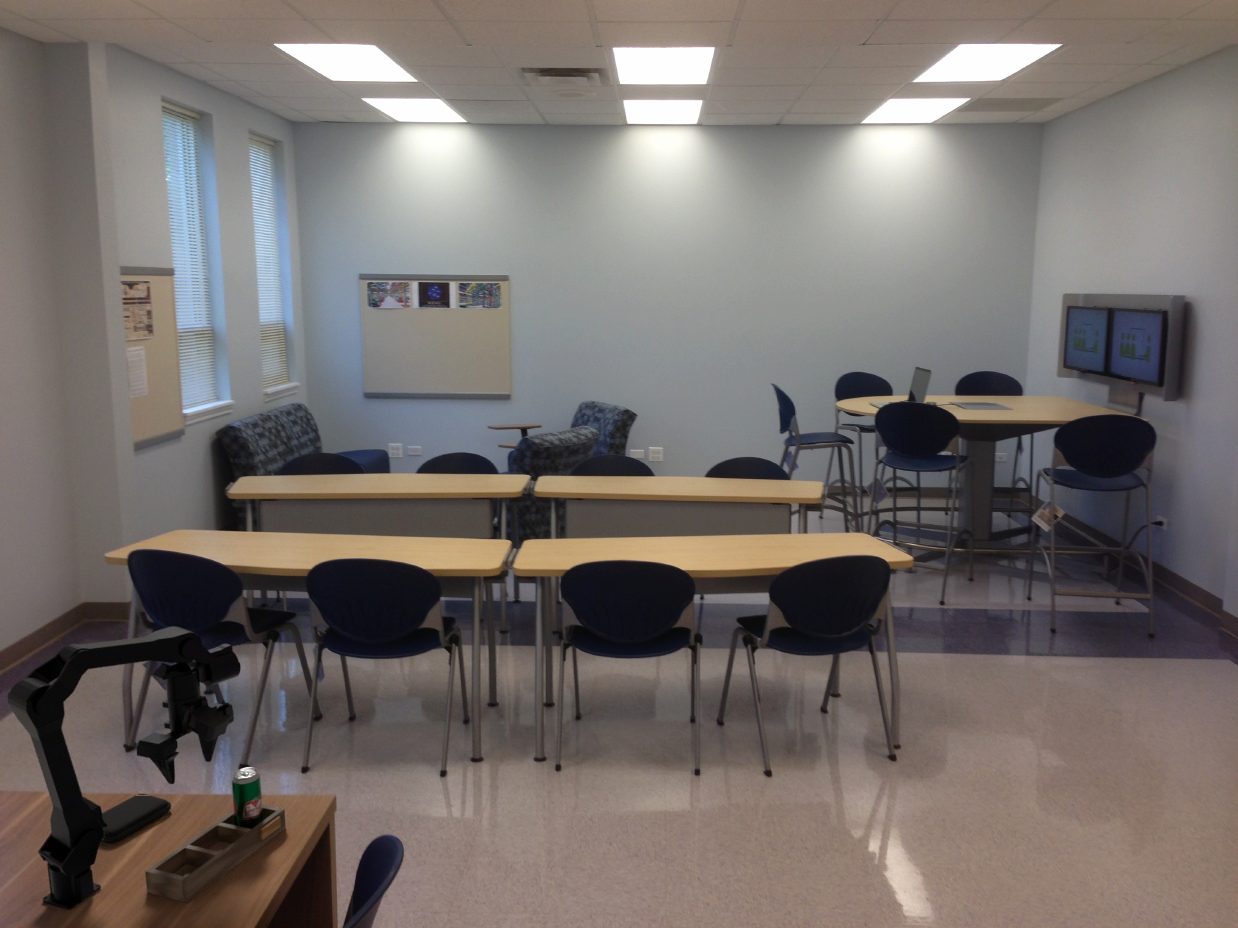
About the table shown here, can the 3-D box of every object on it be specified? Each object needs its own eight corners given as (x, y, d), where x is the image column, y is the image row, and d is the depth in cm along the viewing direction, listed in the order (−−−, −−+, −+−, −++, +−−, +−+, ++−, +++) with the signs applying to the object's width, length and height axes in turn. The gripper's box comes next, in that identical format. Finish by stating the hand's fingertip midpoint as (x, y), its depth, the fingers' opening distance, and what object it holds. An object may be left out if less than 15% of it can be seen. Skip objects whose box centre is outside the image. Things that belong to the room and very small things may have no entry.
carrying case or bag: (139, 801, 198) (72, 837, 184) (137, 787, 197) (71, 822, 184) (176, 812, 193) (111, 849, 180) (175, 798, 193) (110, 834, 180)
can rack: (147, 891, 166) (145, 870, 166) (248, 819, 190) (246, 800, 189) (191, 903, 163) (189, 881, 163) (288, 828, 186) (286, 809, 186)
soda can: (246, 841, 180) (241, 781, 178) (229, 832, 183) (225, 774, 181) (269, 829, 184) (265, 770, 182) (253, 821, 187) (249, 763, 185)
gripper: (179, 720, 168) (186, 803, 171) (253, 681, 185) (259, 757, 188) (130, 711, 172) (138, 792, 174) (207, 673, 189) (213, 748, 192)
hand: (190, 772), depth 182 cm, fingers open, 9 cm apart
